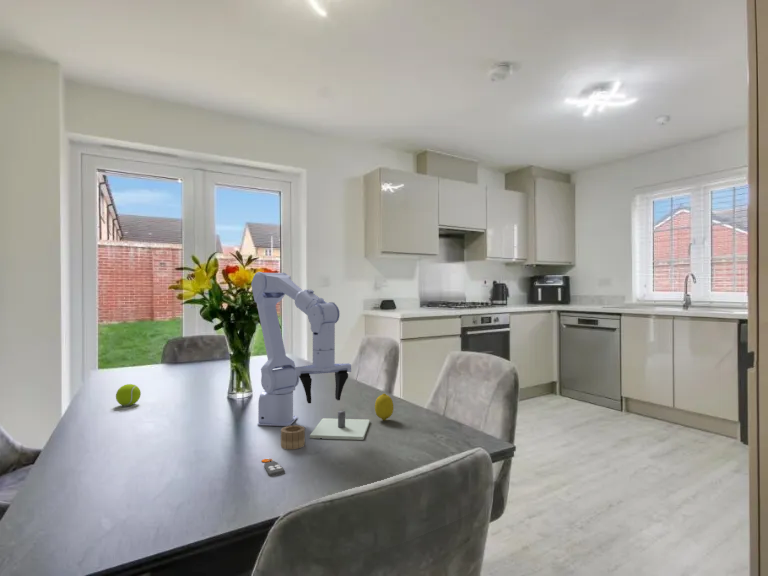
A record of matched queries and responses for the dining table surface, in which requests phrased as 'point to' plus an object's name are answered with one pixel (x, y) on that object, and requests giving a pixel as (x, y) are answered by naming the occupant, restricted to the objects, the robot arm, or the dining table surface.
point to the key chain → (273, 467)
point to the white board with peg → (341, 428)
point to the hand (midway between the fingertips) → (323, 400)
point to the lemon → (384, 407)
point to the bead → (292, 437)
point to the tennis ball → (128, 395)
